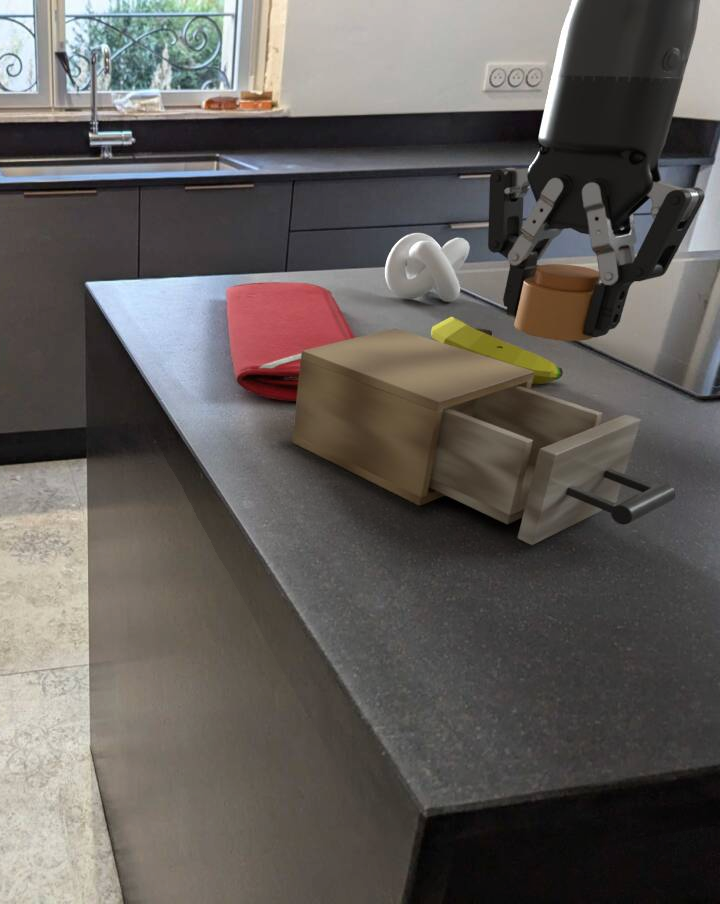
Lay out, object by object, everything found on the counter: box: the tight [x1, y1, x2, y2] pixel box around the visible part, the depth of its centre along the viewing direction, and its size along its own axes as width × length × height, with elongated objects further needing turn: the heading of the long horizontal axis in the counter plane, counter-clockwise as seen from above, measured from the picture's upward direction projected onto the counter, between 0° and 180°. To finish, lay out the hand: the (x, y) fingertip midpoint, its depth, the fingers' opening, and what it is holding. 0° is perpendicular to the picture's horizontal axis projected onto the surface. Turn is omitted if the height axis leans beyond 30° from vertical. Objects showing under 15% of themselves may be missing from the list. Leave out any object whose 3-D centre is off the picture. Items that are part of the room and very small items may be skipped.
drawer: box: [429, 385, 676, 546], centre depth 64 cm, size 18×11×7 cm, turn 33°
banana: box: [430, 316, 564, 385], centre depth 98 cm, size 5×17×15 cm
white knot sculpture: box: [384, 232, 471, 303], centre depth 124 cm, size 11×12×9 cm
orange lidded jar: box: [513, 263, 601, 342], centre depth 60 cm, size 5×5×4 cm
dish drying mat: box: [225, 281, 357, 402], centre depth 103 cm, size 16×41×4 cm, turn 174°
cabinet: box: [291, 327, 535, 507], centre depth 73 cm, size 15×13×9 cm
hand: (555, 323), depth 60 cm, fingers closed on orange lidded jar, 5 cm apart
